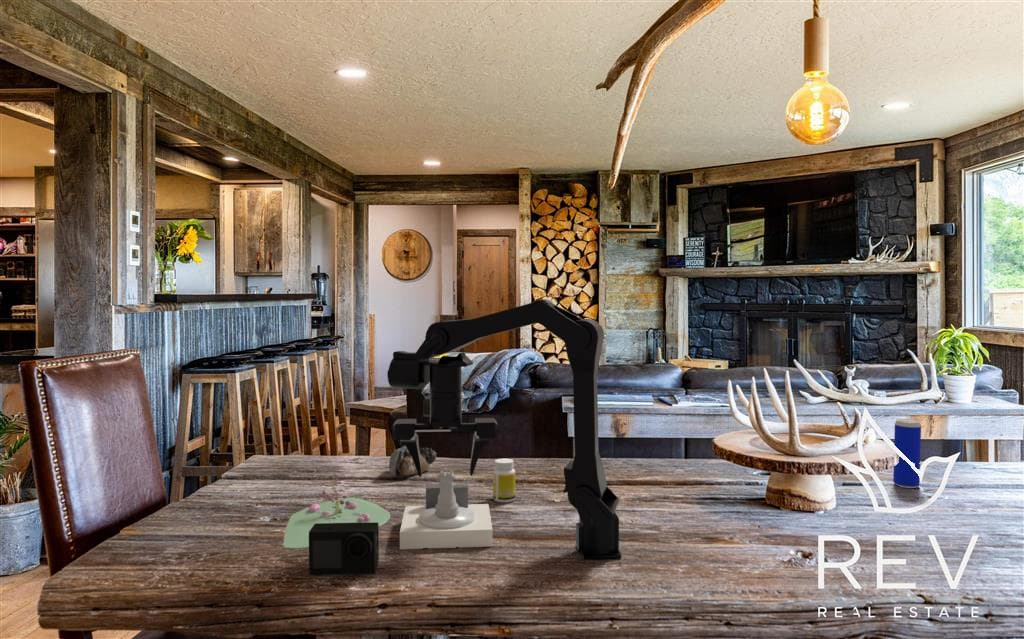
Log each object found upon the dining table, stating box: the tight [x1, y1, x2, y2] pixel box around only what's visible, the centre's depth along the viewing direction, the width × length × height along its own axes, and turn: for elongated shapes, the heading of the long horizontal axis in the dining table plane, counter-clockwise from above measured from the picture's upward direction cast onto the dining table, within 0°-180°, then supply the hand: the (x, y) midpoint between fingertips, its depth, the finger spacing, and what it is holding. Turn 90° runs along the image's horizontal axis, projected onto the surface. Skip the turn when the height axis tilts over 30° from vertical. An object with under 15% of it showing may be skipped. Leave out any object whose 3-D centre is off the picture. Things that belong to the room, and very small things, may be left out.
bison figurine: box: [388, 445, 437, 477], centre depth 164 cm, size 12×7×10 cm
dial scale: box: [399, 483, 493, 550], centre depth 124 cm, size 16×14×7 cm
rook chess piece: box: [435, 469, 459, 518], centre depth 123 cm, size 4×4×8 cm
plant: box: [282, 474, 391, 549], centre depth 129 cm, size 25×21×9 cm
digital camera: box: [308, 523, 380, 576], centre depth 108 cm, size 10×5×7 cm, turn 93°
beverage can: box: [892, 418, 922, 489], centre depth 154 cm, size 5×5×15 cm
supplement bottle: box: [492, 458, 516, 503], centre depth 144 cm, size 5×5×8 cm
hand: (445, 475), depth 123 cm, fingers open, 9 cm apart
